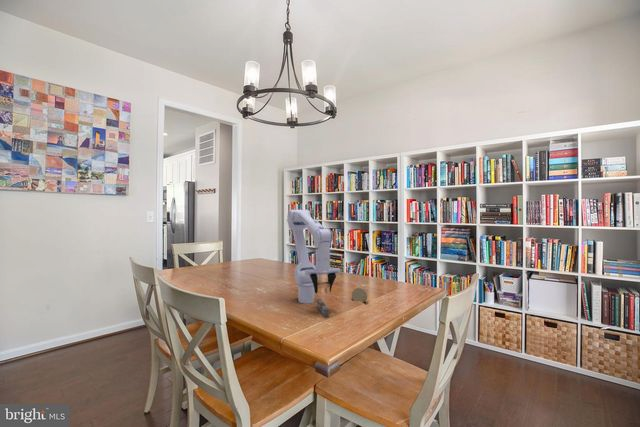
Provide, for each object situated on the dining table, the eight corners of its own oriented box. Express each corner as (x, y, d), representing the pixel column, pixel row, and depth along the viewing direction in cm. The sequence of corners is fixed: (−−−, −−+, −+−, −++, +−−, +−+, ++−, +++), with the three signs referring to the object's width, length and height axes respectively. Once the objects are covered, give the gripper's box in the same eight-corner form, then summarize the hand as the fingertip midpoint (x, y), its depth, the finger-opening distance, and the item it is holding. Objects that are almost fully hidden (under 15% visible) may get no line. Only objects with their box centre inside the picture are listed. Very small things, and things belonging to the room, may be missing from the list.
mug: (367, 298, 141) (371, 283, 136) (362, 313, 133) (366, 297, 128) (352, 293, 143) (355, 278, 138) (347, 307, 135) (350, 292, 130)
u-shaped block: (315, 292, 119) (315, 282, 119) (327, 291, 120) (327, 281, 120) (317, 295, 115) (317, 284, 115) (329, 294, 116) (329, 284, 116)
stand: (308, 308, 126) (308, 298, 126) (326, 307, 127) (326, 296, 127) (317, 324, 108) (317, 312, 108) (338, 322, 110) (338, 310, 110)
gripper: (306, 261, 112) (306, 296, 112) (342, 259, 115) (342, 293, 115) (303, 258, 119) (303, 291, 119) (337, 256, 122) (337, 288, 122)
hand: (322, 292), depth 118 cm, fingers closed on u-shaped block, 5 cm apart
